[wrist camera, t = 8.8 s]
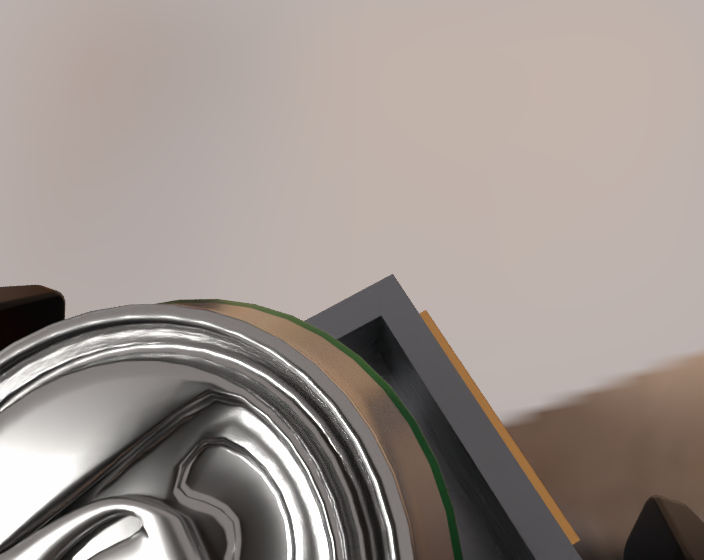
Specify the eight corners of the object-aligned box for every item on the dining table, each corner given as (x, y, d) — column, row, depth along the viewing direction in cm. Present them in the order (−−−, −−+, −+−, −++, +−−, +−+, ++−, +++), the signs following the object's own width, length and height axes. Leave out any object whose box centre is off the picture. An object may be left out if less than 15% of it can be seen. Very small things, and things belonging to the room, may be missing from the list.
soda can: (476, 568, 15) (647, 770, 4) (295, 687, 14) (-145, 1335, 3) (368, 389, 17) (259, 154, 5) (203, 490, 16) (-292, 464, 5)
